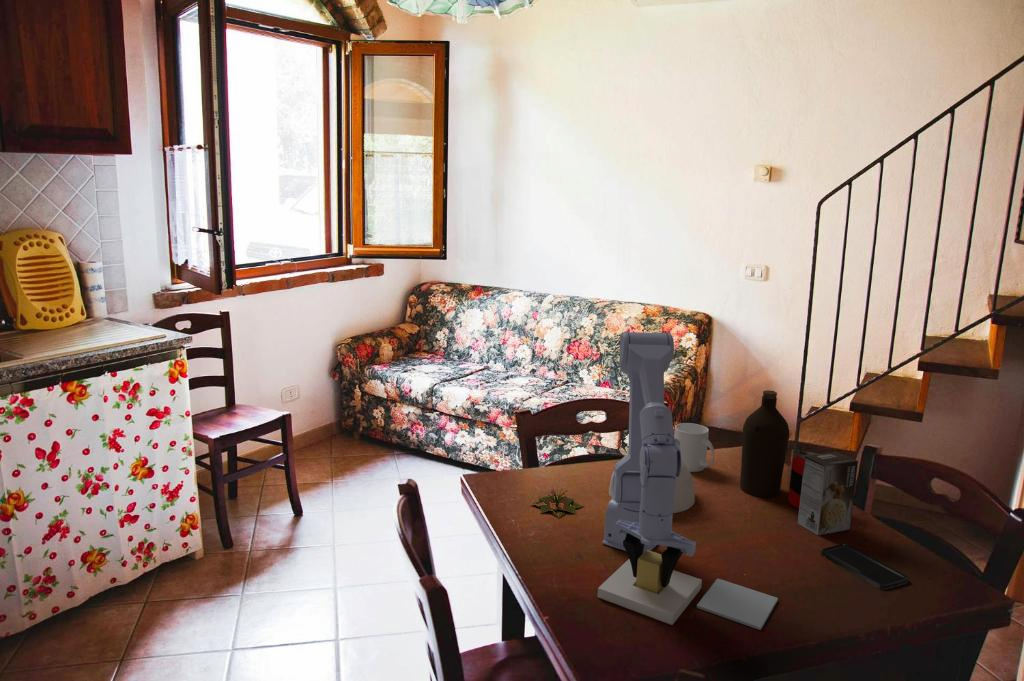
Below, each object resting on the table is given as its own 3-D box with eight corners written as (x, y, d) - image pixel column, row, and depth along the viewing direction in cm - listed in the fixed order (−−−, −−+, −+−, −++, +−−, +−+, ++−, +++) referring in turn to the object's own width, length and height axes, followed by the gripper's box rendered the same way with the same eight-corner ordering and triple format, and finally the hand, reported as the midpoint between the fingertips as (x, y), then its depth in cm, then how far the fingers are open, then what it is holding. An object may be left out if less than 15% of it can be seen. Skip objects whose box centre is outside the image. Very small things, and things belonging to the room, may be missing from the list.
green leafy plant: (554, 492, 172) (555, 474, 171) (594, 509, 164) (595, 490, 163) (519, 507, 164) (520, 488, 163) (559, 525, 156) (560, 505, 155)
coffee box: (828, 517, 162) (836, 450, 159) (850, 530, 156) (860, 460, 153) (796, 523, 159) (804, 455, 155) (817, 536, 153) (826, 465, 150)
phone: (845, 543, 149) (911, 578, 135) (845, 548, 149) (910, 583, 136) (817, 549, 146) (882, 586, 132) (817, 555, 146) (881, 592, 132)
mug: (701, 479, 182) (704, 439, 179) (665, 464, 191) (668, 426, 189) (722, 472, 186) (726, 433, 184) (686, 458, 196) (689, 421, 194)
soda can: (800, 495, 174) (806, 448, 172) (829, 506, 168) (835, 458, 165) (780, 501, 170) (786, 453, 168) (808, 513, 164) (815, 464, 161)
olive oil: (785, 501, 170) (796, 400, 165) (738, 495, 173) (748, 395, 167) (779, 483, 180) (790, 388, 175) (735, 479, 183) (745, 384, 178)
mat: (696, 607, 125) (696, 605, 125) (717, 580, 134) (717, 578, 134) (760, 630, 119) (760, 627, 119) (777, 600, 128) (778, 598, 128)
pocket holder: (597, 597, 127) (598, 587, 127) (631, 564, 139) (631, 556, 138) (672, 625, 120) (673, 615, 119) (701, 588, 131) (702, 579, 131)
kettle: (710, 496, 172) (717, 424, 169) (667, 523, 157) (673, 445, 153) (638, 472, 185) (642, 405, 182) (591, 496, 170) (595, 423, 166)
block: (635, 594, 129) (637, 558, 127) (644, 584, 132) (647, 549, 131) (656, 601, 127) (658, 565, 125) (664, 591, 130) (667, 556, 128)
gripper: (609, 506, 127) (604, 576, 129) (687, 529, 119) (681, 603, 122) (626, 493, 132) (621, 560, 135) (702, 514, 125) (696, 585, 127)
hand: (651, 579), depth 129 cm, fingers open, 5 cm apart
